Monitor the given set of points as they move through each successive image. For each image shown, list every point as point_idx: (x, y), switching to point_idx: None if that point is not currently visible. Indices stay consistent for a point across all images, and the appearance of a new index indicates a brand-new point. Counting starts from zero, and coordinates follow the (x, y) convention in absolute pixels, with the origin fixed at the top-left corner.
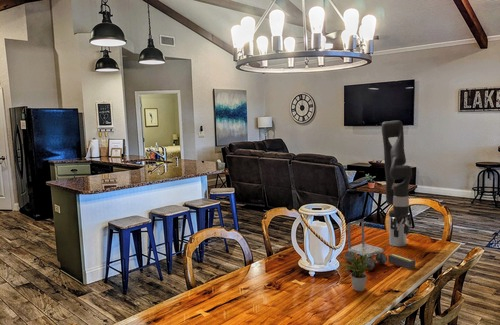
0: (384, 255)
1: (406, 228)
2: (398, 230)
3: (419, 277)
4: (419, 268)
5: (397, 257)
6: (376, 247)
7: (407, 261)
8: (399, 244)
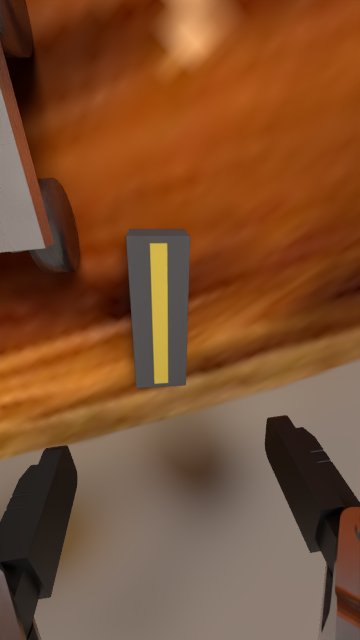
0: (48, 267)
1: (300, 514)
2: (49, 595)
3: (101, 432)
4: None
5: (142, 304)
6: (6, 172)
7: (137, 376)
8: None
